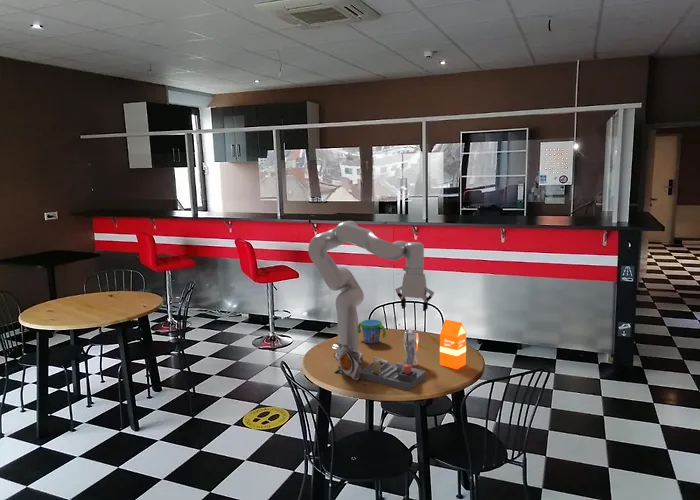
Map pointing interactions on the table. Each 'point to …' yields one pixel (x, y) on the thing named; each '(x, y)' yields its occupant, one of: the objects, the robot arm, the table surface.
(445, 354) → the orange juice
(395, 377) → the panel
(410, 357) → the beer glass
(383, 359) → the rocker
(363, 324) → the snack cup
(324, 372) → the table surface
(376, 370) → the brass slider
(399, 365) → the steel slider
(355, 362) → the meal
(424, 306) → the robot arm
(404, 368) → the button
